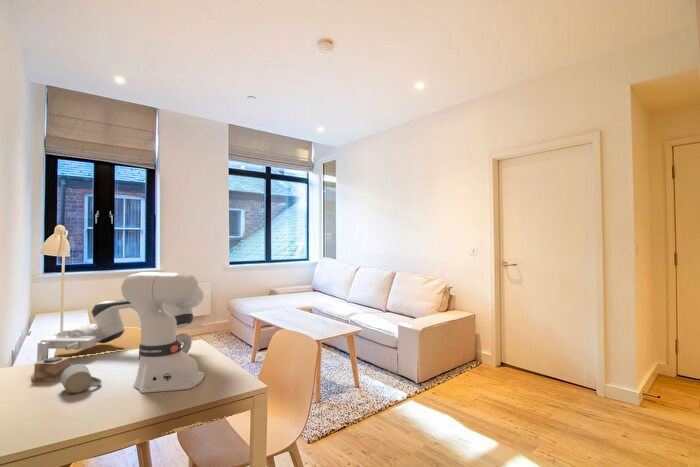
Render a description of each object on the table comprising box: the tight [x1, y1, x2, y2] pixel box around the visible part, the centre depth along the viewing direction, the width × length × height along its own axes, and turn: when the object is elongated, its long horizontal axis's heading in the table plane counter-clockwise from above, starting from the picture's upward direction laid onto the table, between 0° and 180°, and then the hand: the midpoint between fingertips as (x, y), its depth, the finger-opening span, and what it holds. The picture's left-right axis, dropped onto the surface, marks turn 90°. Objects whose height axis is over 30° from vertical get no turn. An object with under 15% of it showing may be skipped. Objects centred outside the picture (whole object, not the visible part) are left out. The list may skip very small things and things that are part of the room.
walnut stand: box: [31, 356, 71, 382], centre depth 126 cm, size 8×8×6 cm
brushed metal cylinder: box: [36, 341, 49, 363], centre depth 134 cm, size 3×3×10 cm
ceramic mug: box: [60, 363, 102, 394], centre depth 116 cm, size 11×8×8 cm
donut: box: [176, 333, 192, 354], centre depth 151 cm, size 10×4×10 cm, turn 153°
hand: (54, 348), depth 140 cm, fingers open, 8 cm apart
